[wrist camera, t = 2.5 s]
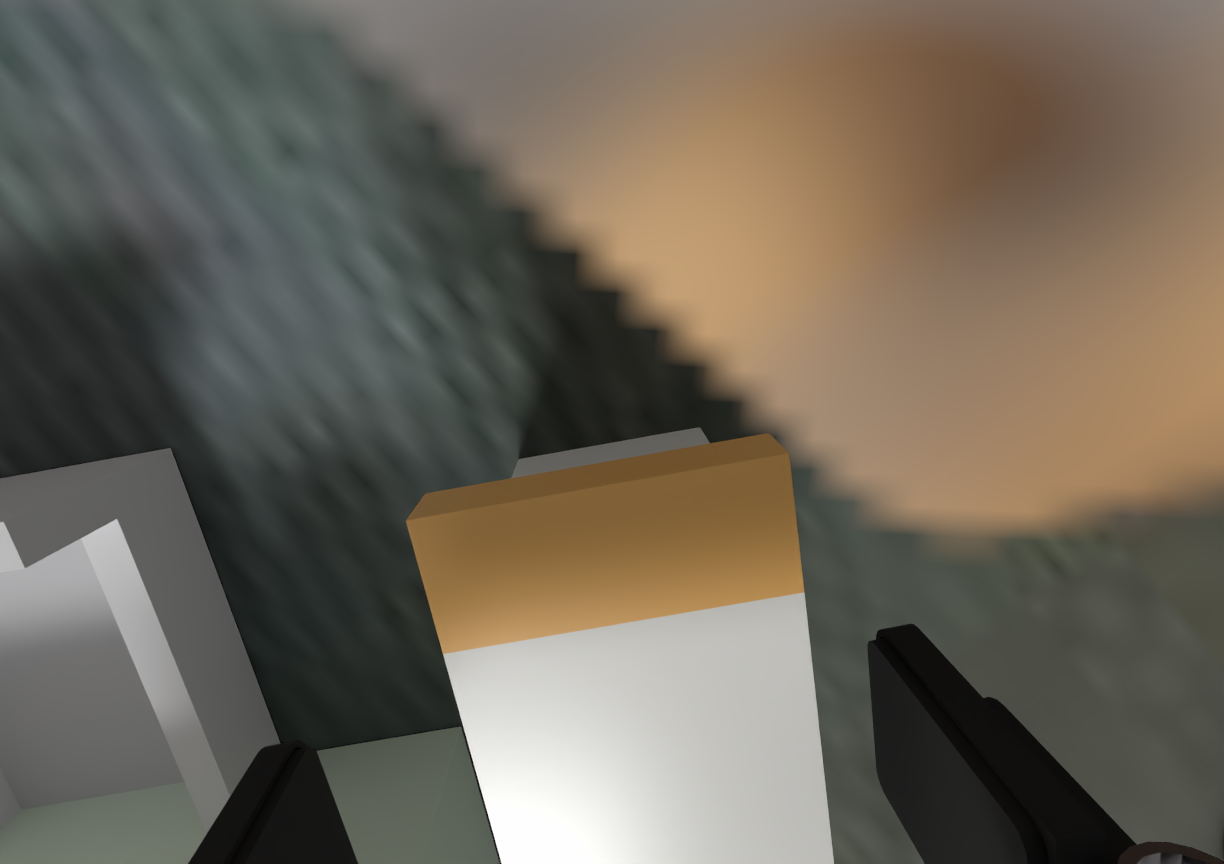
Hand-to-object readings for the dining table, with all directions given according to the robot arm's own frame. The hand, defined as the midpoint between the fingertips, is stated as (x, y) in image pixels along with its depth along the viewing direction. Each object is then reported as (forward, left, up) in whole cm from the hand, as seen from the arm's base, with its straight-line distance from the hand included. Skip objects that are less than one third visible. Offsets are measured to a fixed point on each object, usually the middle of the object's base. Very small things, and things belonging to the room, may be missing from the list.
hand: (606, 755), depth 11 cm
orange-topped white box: (-1, 0, -8) cm, 8 cm away
